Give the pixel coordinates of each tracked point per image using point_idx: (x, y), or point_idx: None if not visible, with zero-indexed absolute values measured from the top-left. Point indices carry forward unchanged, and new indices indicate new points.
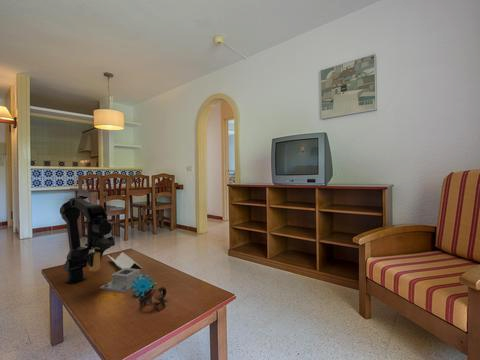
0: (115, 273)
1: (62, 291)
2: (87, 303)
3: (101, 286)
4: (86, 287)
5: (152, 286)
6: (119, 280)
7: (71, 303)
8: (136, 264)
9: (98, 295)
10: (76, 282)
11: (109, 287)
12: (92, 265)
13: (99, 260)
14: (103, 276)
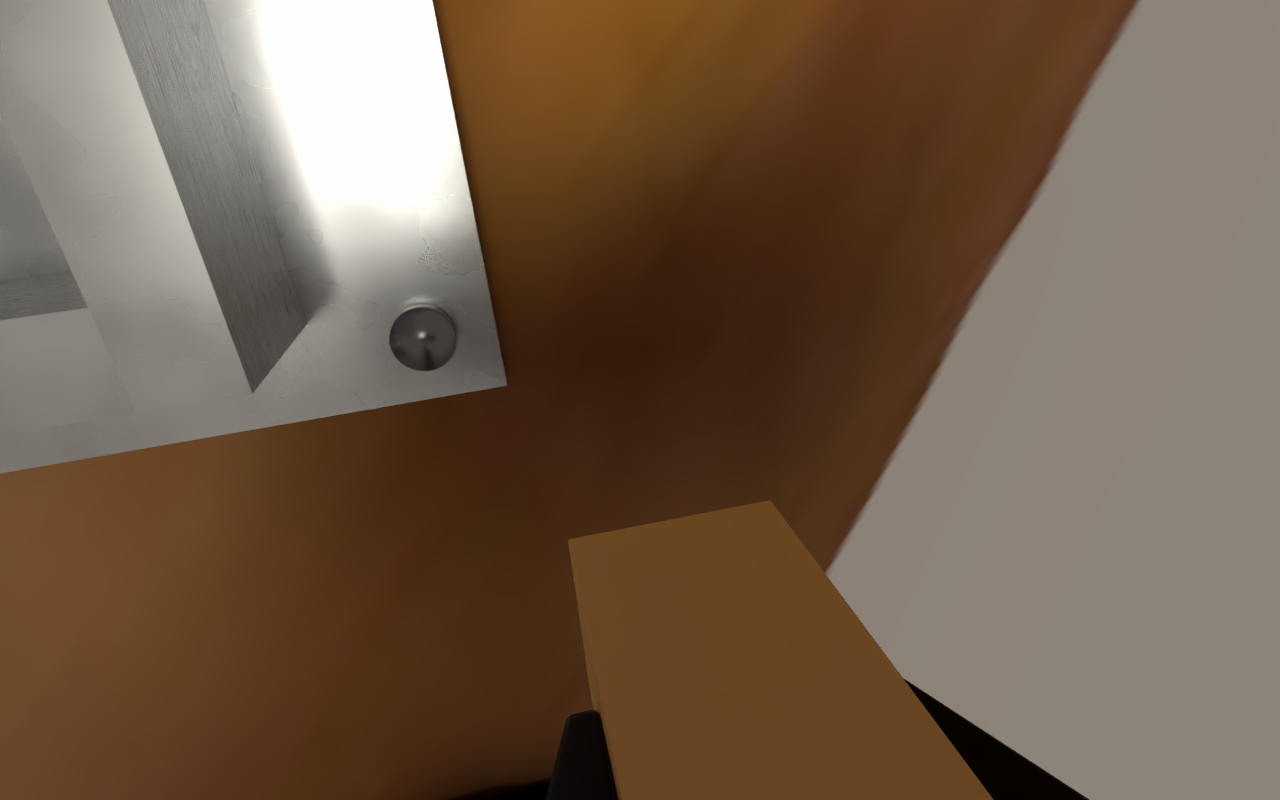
0: (147, 366)
1: None
2: (892, 114)
3: (484, 381)
4: (559, 584)
5: None
6: (210, 124)
7: (932, 325)
8: None
9: (664, 192)
10: (536, 789)
11: (438, 213)
12: None
13: (661, 782)
14: (185, 733)
